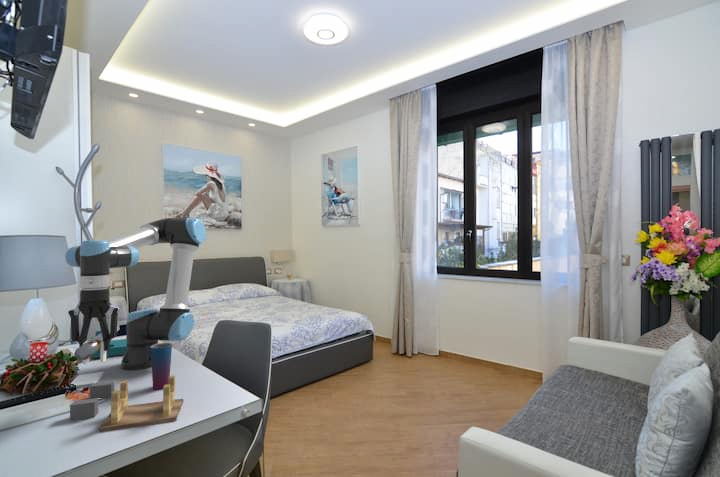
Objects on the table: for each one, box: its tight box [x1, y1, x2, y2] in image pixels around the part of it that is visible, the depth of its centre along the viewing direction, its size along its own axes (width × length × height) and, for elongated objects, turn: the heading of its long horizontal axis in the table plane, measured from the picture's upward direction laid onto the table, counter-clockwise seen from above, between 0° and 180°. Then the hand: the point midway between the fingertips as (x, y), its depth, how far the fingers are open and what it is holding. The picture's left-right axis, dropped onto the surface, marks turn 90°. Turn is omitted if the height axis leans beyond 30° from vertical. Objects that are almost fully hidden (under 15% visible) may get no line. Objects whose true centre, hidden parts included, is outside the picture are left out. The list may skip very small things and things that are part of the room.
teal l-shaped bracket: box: [90, 330, 127, 359], centre depth 164 cm, size 18×11×10 cm, turn 117°
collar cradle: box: [98, 374, 184, 433], centre depth 105 cm, size 13×19×10 cm
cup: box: [150, 342, 173, 391], centre depth 126 cm, size 7×7×15 cm
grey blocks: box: [69, 380, 115, 422], centre depth 111 cm, size 17×6×4 cm, turn 19°
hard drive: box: [70, 371, 104, 389], centre depth 131 cm, size 2×8×12 cm
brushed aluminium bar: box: [74, 333, 113, 361], centre depth 111 cm, size 18×4×4 cm, turn 19°
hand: (94, 361), depth 111 cm, fingers closed on brushed aluminium bar, 4 cm apart
